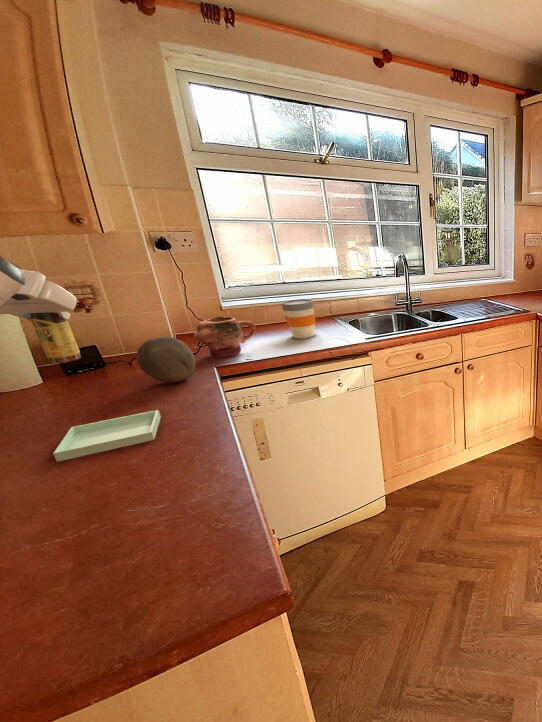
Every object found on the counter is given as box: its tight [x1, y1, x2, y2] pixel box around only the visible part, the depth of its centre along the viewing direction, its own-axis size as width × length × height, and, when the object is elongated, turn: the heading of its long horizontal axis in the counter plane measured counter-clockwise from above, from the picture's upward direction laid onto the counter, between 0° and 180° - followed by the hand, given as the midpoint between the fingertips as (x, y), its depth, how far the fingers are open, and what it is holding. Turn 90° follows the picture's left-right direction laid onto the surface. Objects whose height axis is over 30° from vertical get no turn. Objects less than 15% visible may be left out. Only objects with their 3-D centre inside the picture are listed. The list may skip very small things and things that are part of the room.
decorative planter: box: [193, 316, 256, 358], centre depth 162 cm, size 20×12×14 cm, turn 133°
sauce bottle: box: [30, 312, 82, 364], centre depth 108 cm, size 7×6×20 cm
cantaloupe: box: [136, 336, 196, 384], centre depth 134 cm, size 14×14×15 cm
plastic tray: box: [52, 409, 162, 463], centre depth 102 cm, size 17×15×2 cm
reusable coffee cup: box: [281, 298, 316, 339], centre depth 186 cm, size 13×13×15 cm
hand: (51, 317), depth 108 cm, fingers closed on sauce bottle, 6 cm apart
